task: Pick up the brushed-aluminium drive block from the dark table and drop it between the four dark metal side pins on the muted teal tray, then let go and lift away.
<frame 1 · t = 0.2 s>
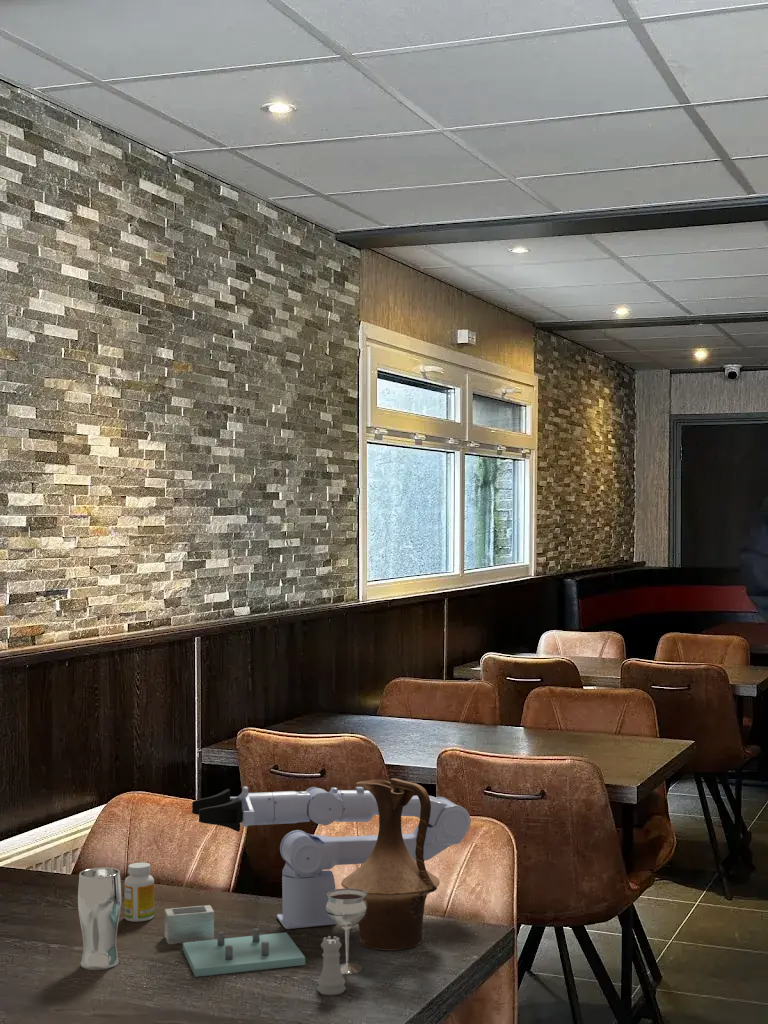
hand: (195, 811, 223), 21 cm above the table, tool horizontal, fingers open, 7 cm apart
pitcher: (391, 942, 217), on the table
beer glass: (99, 965, 206), on the table
drive block: (189, 939, 219), on the table
pin tray: (242, 957, 209), on the table
supplement bottle: (139, 919, 232), on the table
wineglass: (347, 970, 203), on the table
rook chess piece: (331, 992, 193), on the table
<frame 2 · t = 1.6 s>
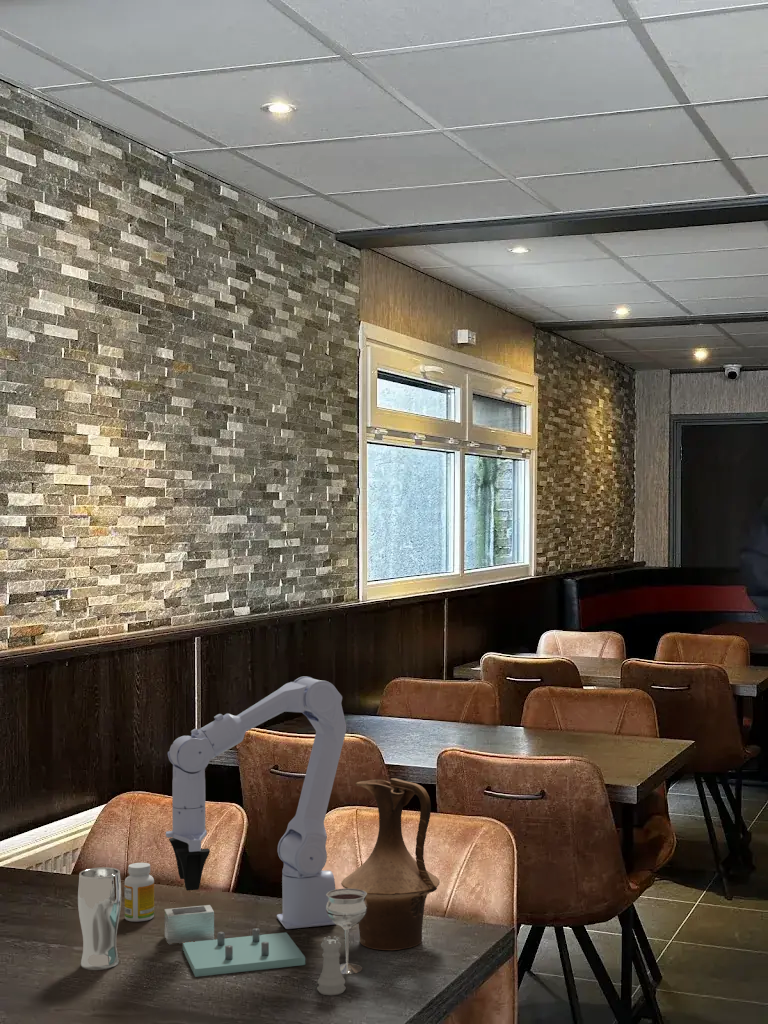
hand: (189, 883, 220), 9 cm above the table, tool pointing down, fingers open, 7 cm apart
nothing on the table moved.
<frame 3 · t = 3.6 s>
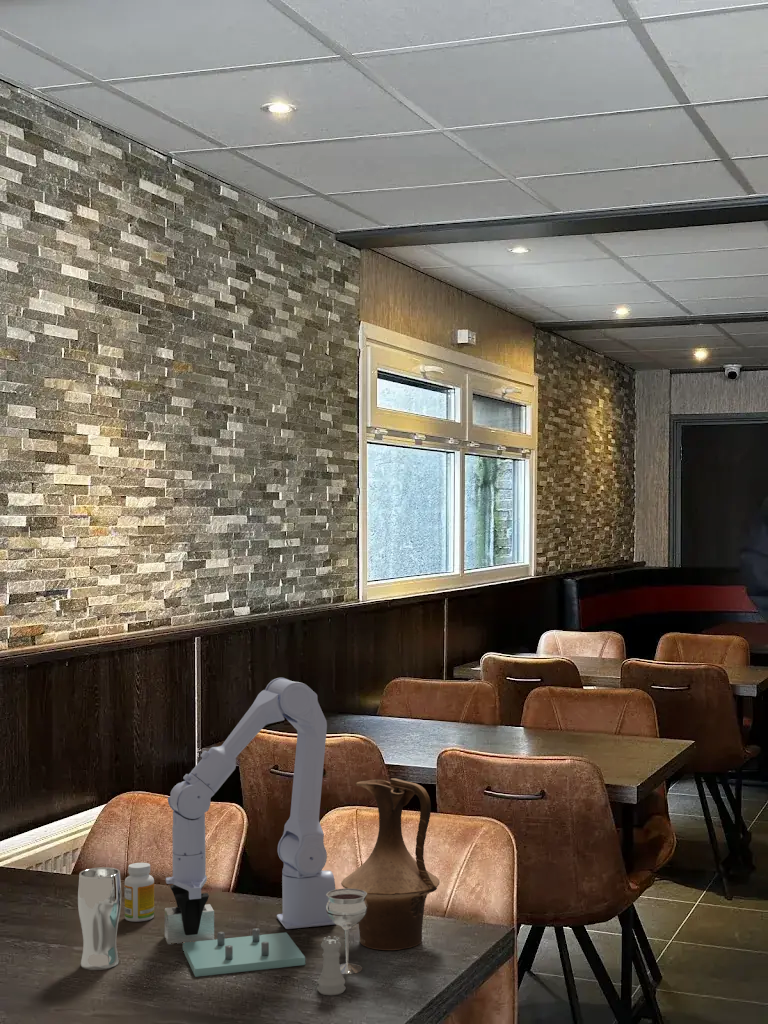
hand: (189, 930, 219), 1 cm above the table, tool pointing down, fingers closed on drive block, 4 cm apart
drive block: (189, 938, 219), on the table, touching gripper
everything else where it was.
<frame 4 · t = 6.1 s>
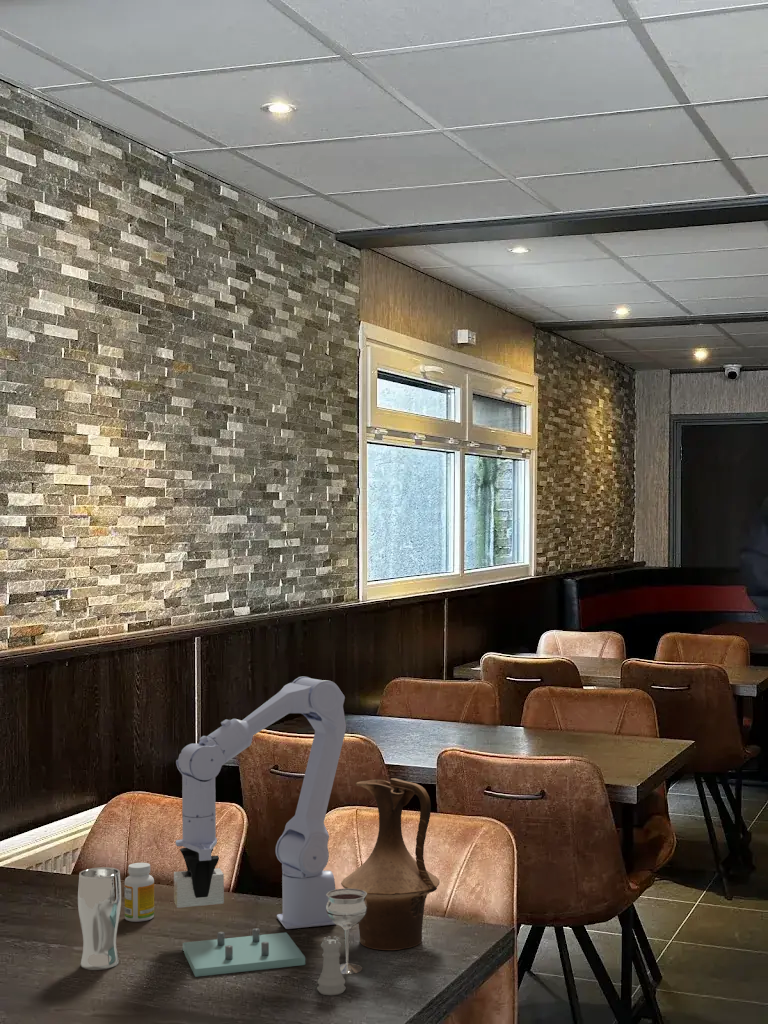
hand: (199, 893, 217), 8 cm above the table, tool pointing down, fingers closed on drive block, 4 cm apart
drive block: (198, 902, 217), point 7 cm above the table, touching gripper
everything else where it was.
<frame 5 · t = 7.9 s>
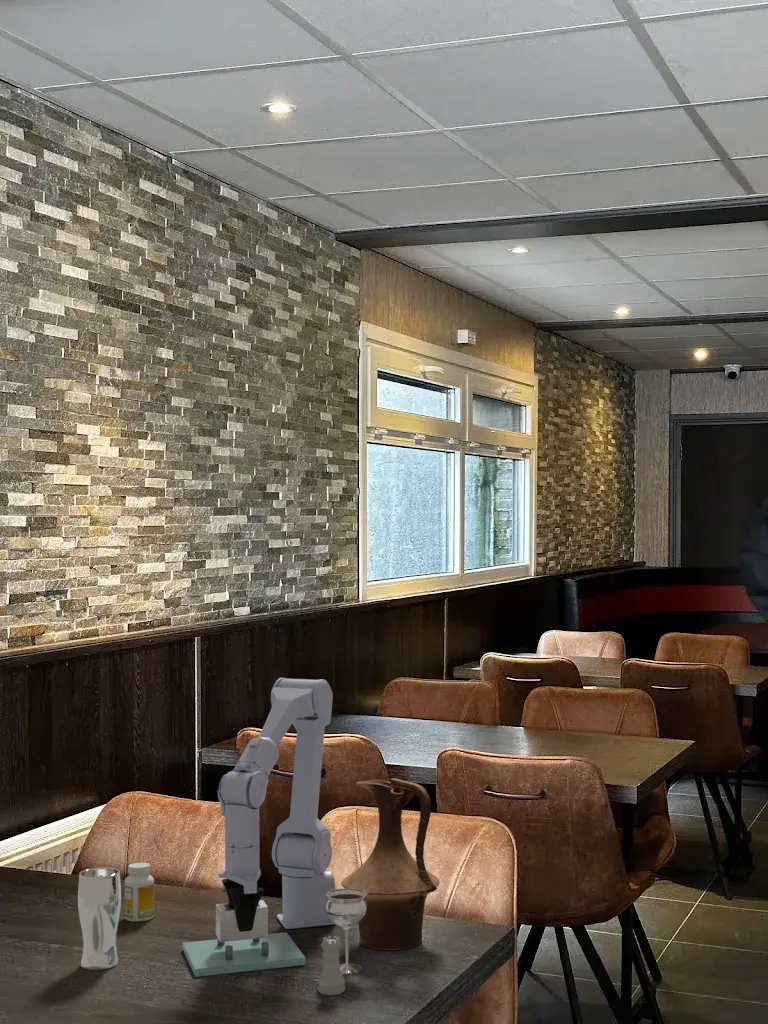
hand: (242, 926, 209), 5 cm above the table, tool pointing down, fingers closed on drive block, 4 cm apart
drive block: (241, 935, 209), point 4 cm above the table, touching gripper
everything else where it was.
when the fingers open (4 cm above the table, at t = 9.0 s): drive block drops 1 cm, resting on pin tray.
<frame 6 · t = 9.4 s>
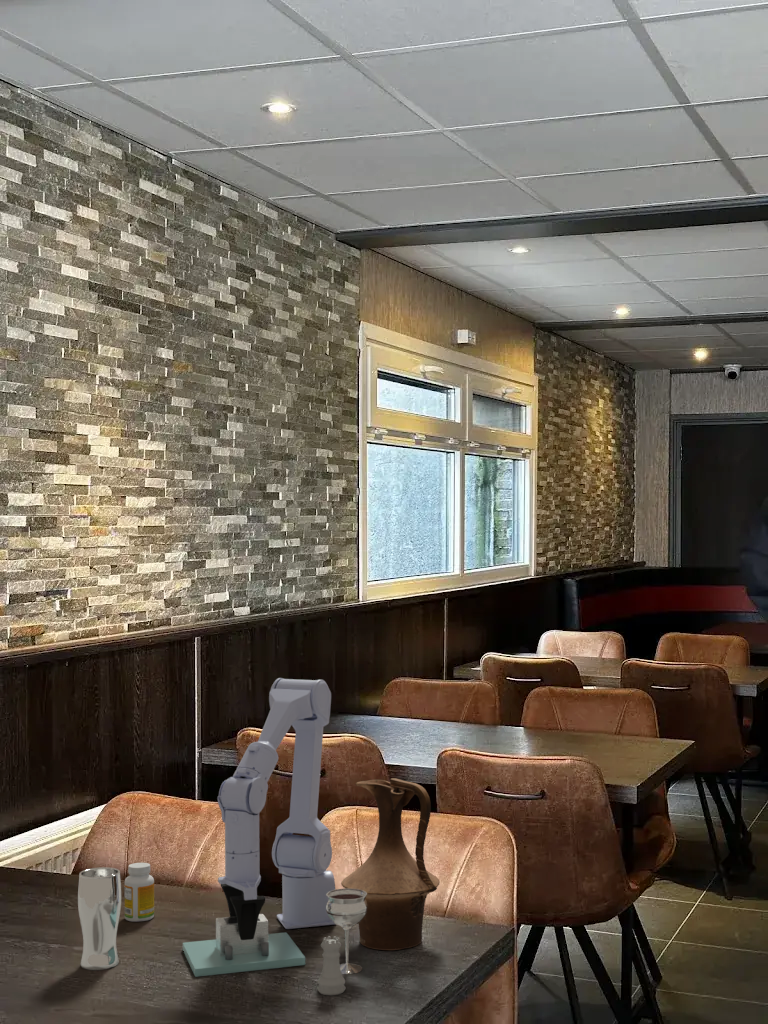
hand: (242, 932, 209), 4 cm above the table, tool pointing down, fingers open, 7 cm apart
drive block: (242, 949, 209), point 1 cm above the table, touching pin tray
everything else where it was.
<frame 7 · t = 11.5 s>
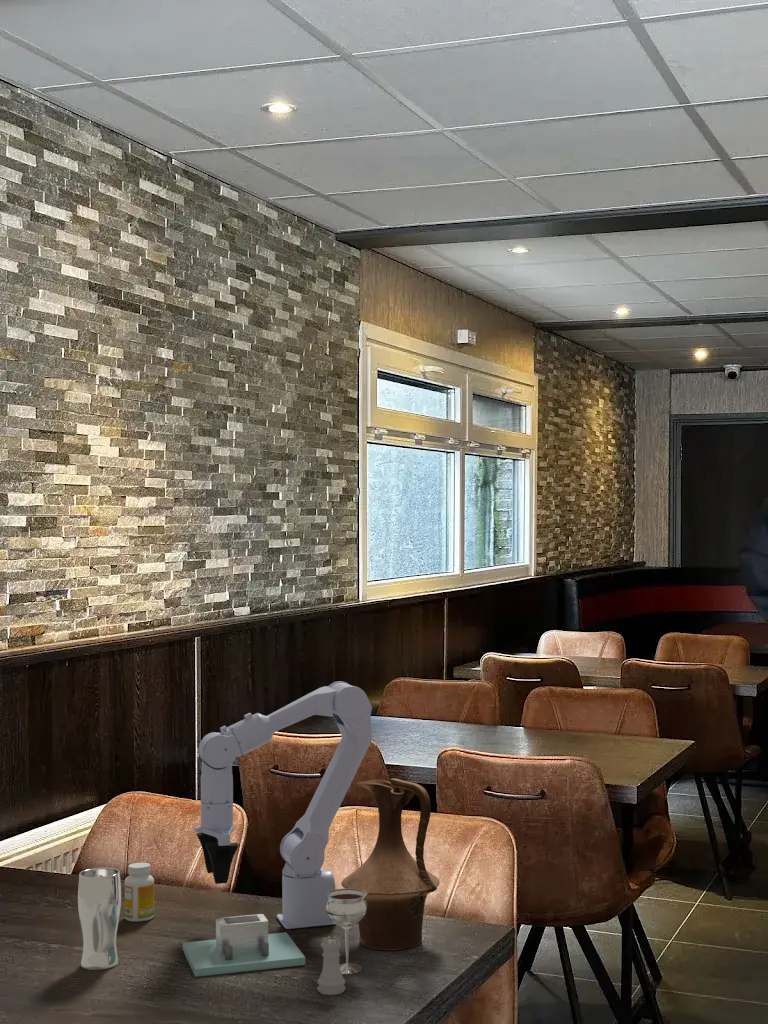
hand: (217, 877, 224), 9 cm above the table, tool pointing down, fingers open, 7 cm apart
nothing on the table moved.
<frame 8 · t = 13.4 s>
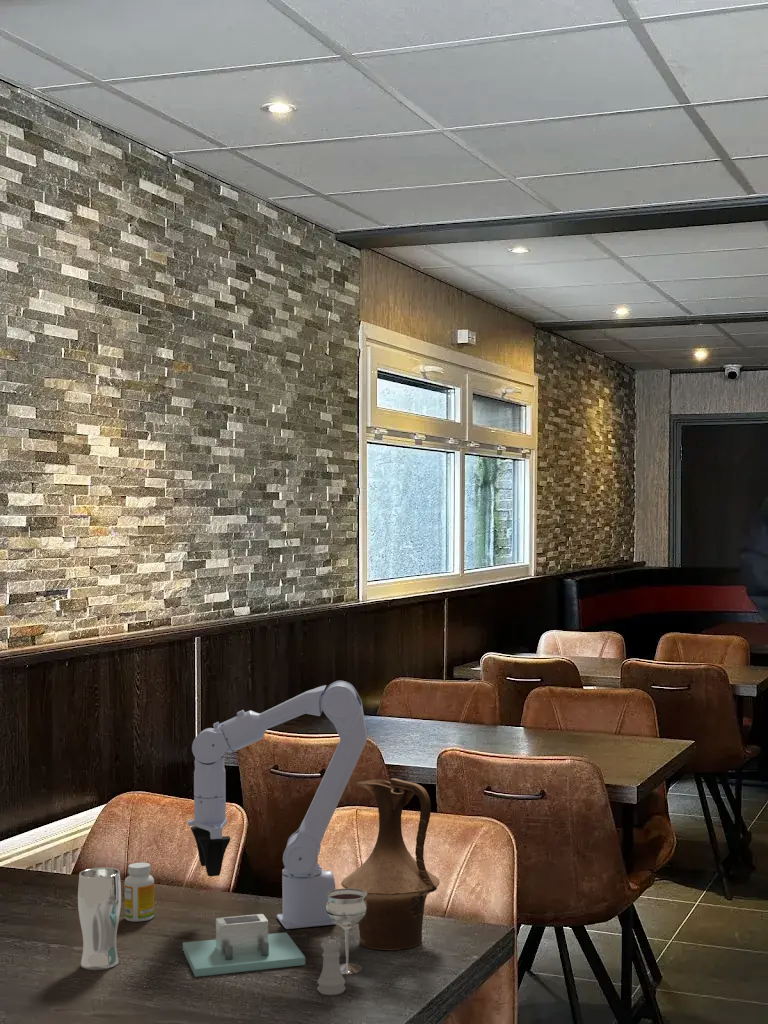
hand: (210, 870, 229), 9 cm above the table, tool pointing down, fingers open, 7 cm apart
nothing on the table moved.
at the end: drive block 0.1 cm off-centre on the pin tray, point 1.2 cm above the pin tray's base; drive block tilted 0°; the gripper is holding nothing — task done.
